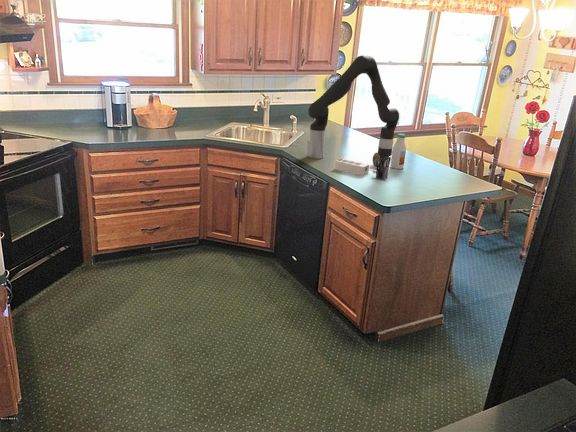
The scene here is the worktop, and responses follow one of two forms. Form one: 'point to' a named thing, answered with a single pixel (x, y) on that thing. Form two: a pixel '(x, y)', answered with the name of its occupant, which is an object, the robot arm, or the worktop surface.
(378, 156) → the tin
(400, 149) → the milk bottle
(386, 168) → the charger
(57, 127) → the worktop surface
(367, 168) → the power strip
